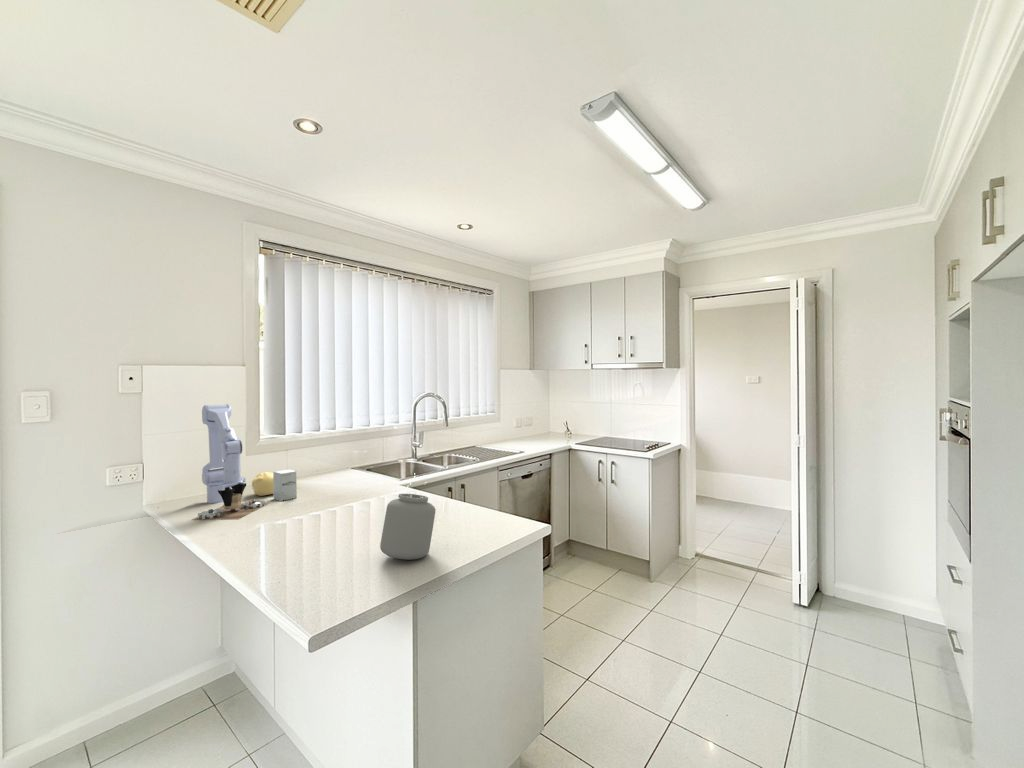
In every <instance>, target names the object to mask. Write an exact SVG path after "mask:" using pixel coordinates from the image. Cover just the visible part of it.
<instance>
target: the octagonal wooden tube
mask: <svg viewBox="0 0 1024 768" xmlns="http://www.w3.org/2000/svg"><path fill="white" fill-rule="evenodd" d="M241 504H242V497H241V494H240V493H233V495H232V504H231V506H225V505H224V504H223V506H224V509H236V508H239V507H241Z"/></svg>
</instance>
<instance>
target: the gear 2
mask: <svg viewBox="0 0 1024 768" xmlns="http://www.w3.org/2000/svg"><path fill="white" fill-rule="evenodd" d="M265 503H266V502H265V500H263V499H262V500H260V499H257V500H256V499H251V500H249V501H245V502H244V503H243V502H241V504H242V509H245V508H246V509H250V508H253V509H255V508H257V507H262V506H264V505H265ZM264 507H265V506H264ZM262 508H263V507H262Z"/></svg>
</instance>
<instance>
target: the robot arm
mask: <svg viewBox="0 0 1024 768" xmlns="http://www.w3.org/2000/svg"><path fill="white" fill-rule="evenodd" d="M231 416H232V407H231V404H228V403H226V404H211V405H210V404H205V405H203V406H202V409H201V418H202V419H201V421H202V424H203V425H206V427H207V429H208V450H209V462H208V463H206V464H205V465H204V466H203V467H202V473H201V481H202V484H203V485H204V486H206V503H207V504H217V503H223V506H224V505H225V506H231V504H232V495H233V493H240V494H241V498H242V497H243V494H244V490H245V488H246V487H247V483H246V476H245V477H242V475H241V454H242V453H243V442H242V440H241V439H239V438H238V437H237V433H236V431H235V430H234V428H233V427H230V422H229V420H230V418H231Z"/></svg>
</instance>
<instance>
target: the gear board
mask: <svg viewBox="0 0 1024 768" xmlns="http://www.w3.org/2000/svg"><path fill="white" fill-rule="evenodd" d="M269 504H271V503H270V502H268V503H267V502H265V505H264V506H262V507H257V508H255V509H253V508H250V509H246V508H245V509H242V503H241V507H239V508H236V509H224V505H222V506H220V507H217V508H215V509H214V510H216V509H219V510H223V511H224V515H222V516H220V517H218V518H217V517H215V518H213V519H210V518H209V519H205V520H204V521H224V520H225V521H227V520H228V521H230V520H232V521H233V520H234V521H236V520H240V519H242V518H244V517H246V516H248V515H250V514H252V513H254V512H256V511H257V510H260V509H262V508H264V507H266V506H268V505H269ZM191 521H203V520H202V519H198V516H197V517H195V518H192V519H191Z"/></svg>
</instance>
